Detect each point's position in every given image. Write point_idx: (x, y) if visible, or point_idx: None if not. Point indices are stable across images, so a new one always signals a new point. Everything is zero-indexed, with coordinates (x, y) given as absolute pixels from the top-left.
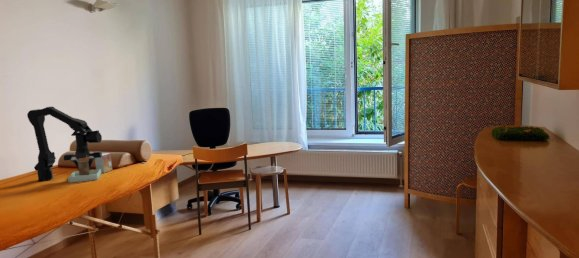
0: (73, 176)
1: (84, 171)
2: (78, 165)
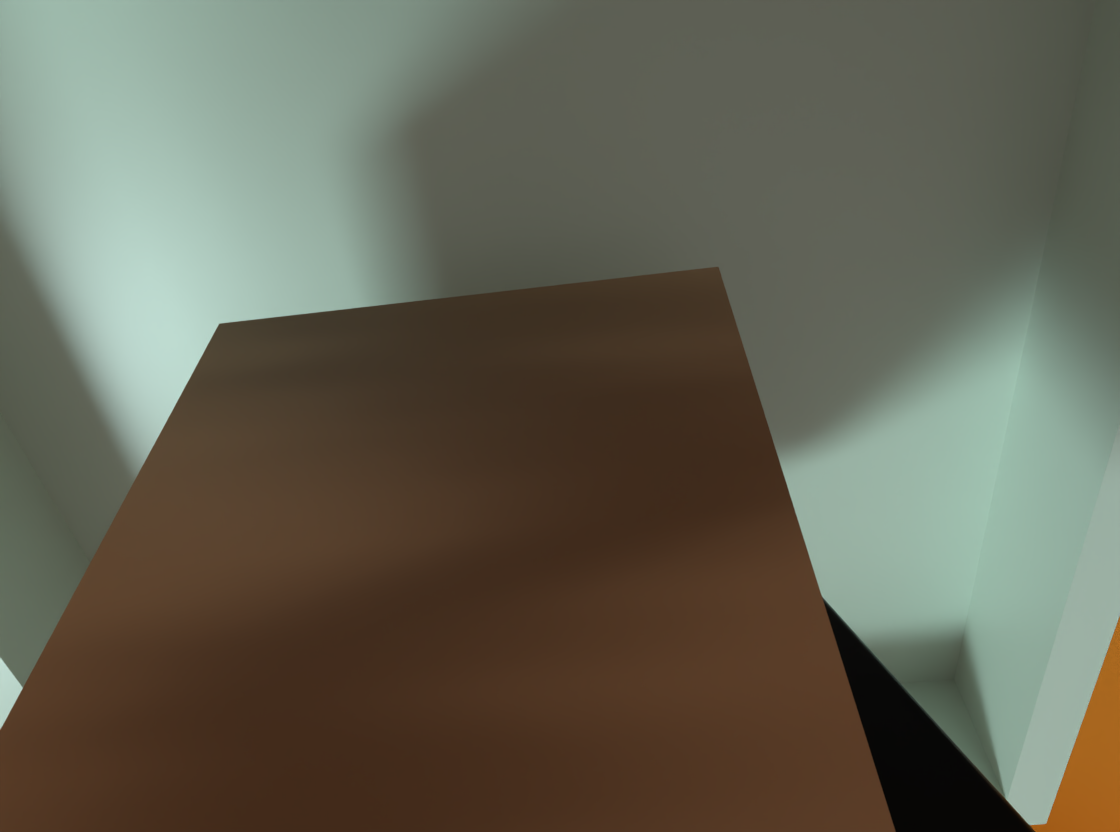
0: (1010, 507)
1: (415, 419)
2: (875, 816)
